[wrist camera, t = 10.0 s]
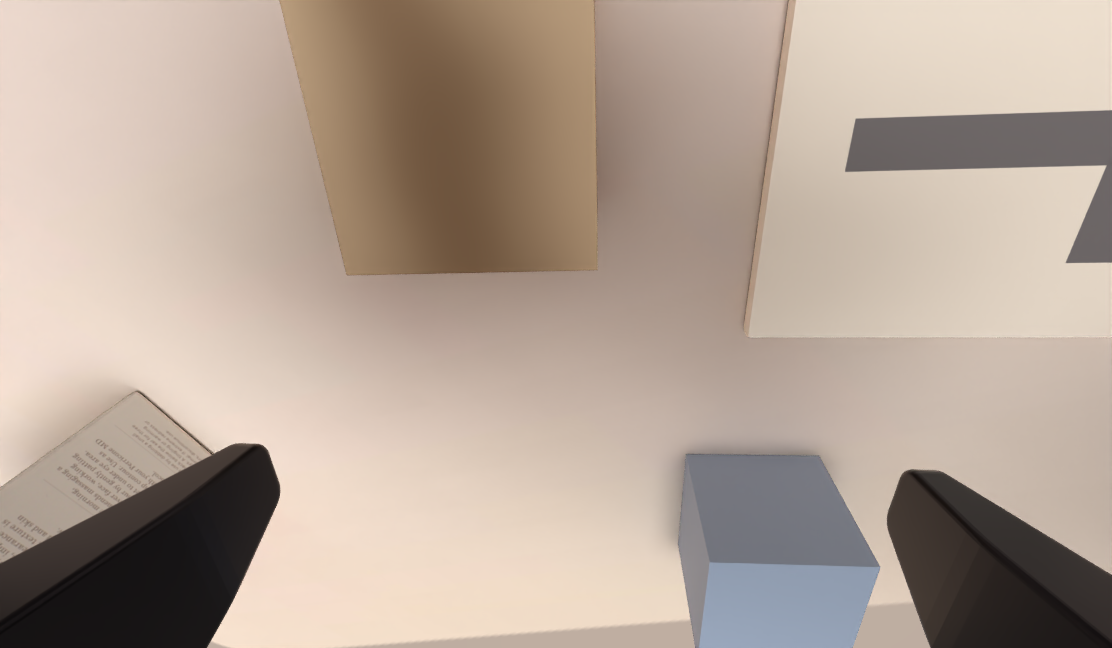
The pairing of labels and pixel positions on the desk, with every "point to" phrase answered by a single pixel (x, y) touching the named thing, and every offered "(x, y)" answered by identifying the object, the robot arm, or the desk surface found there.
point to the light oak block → (453, 131)
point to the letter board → (938, 172)
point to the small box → (93, 472)
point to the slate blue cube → (771, 554)
